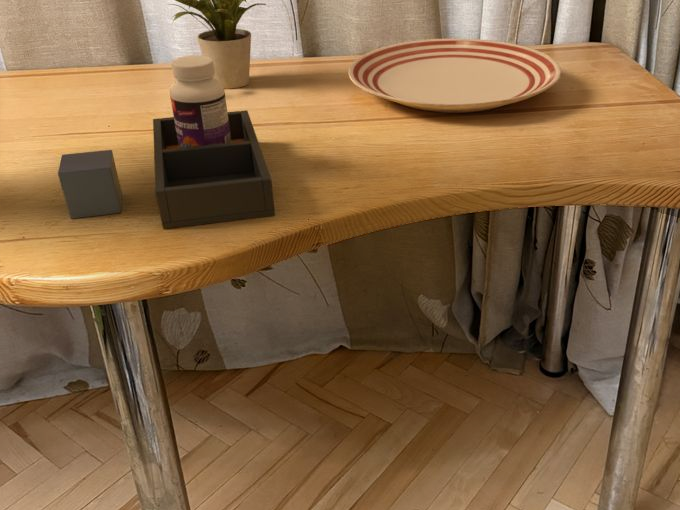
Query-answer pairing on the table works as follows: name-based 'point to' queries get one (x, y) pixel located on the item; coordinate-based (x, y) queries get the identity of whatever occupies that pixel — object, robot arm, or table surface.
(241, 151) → the sorter
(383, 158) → the table surface
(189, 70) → the pill bottle
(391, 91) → the dinner plate
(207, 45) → the house plant
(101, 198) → the gray cube
